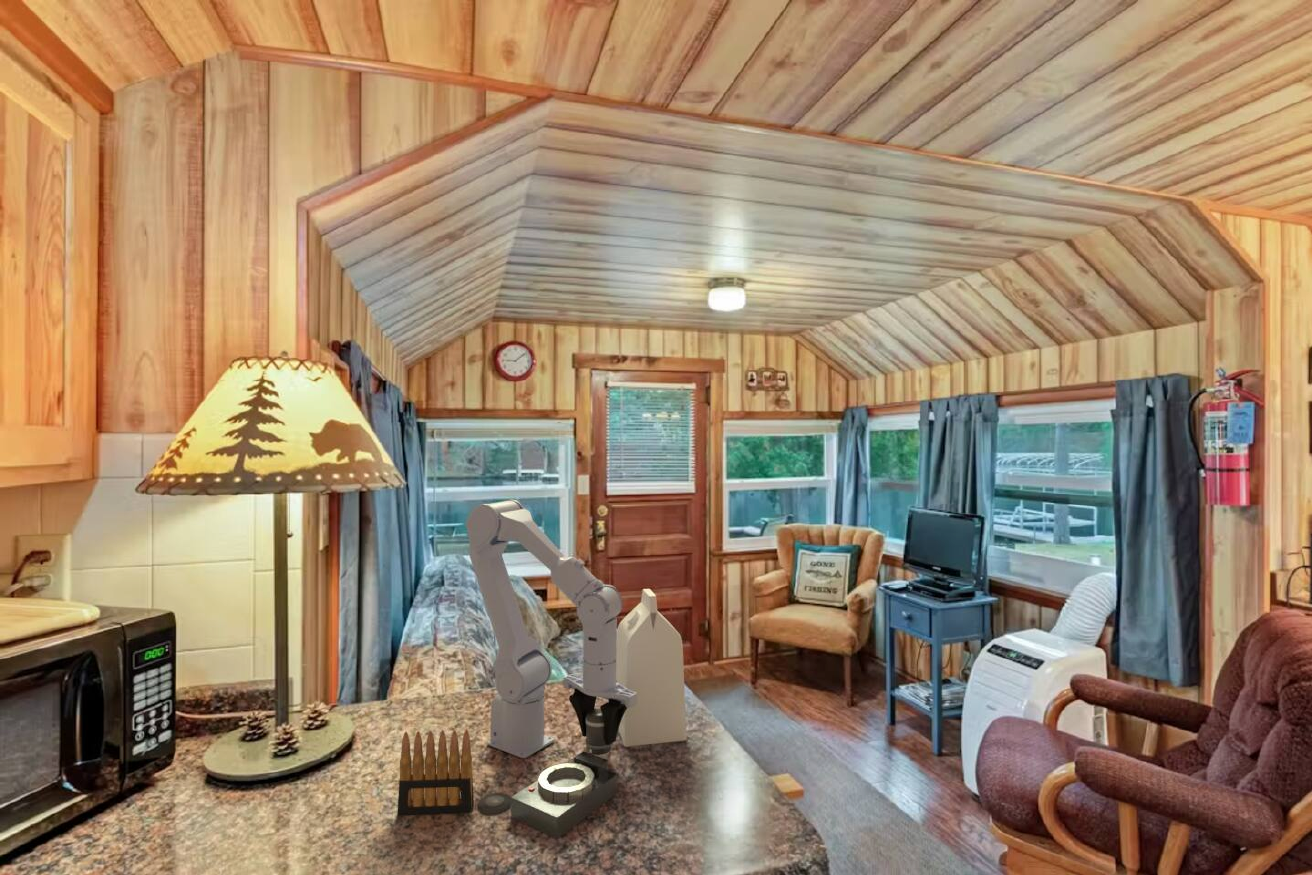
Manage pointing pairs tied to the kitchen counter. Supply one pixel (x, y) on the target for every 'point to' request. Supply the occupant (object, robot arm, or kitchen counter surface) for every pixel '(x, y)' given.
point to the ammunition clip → (435, 777)
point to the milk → (651, 676)
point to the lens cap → (494, 803)
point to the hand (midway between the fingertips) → (598, 738)
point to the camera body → (565, 794)
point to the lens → (596, 733)
